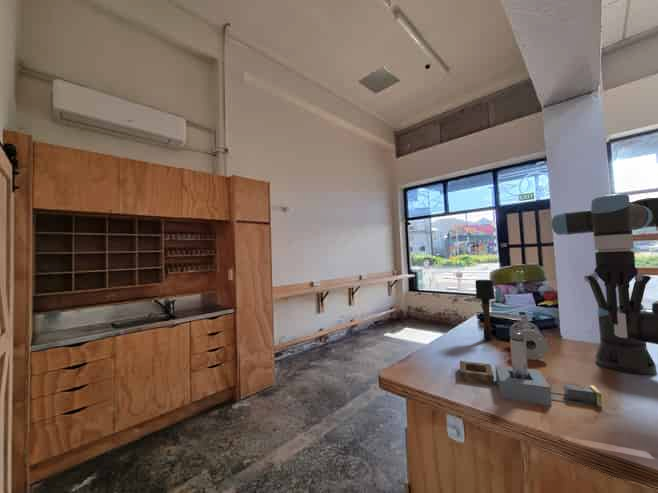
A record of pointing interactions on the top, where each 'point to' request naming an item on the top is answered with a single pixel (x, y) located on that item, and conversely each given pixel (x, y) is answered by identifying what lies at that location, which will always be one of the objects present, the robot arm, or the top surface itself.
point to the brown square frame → (476, 372)
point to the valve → (531, 338)
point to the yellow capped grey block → (583, 394)
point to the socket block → (526, 387)
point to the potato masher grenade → (485, 303)
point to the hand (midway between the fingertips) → (620, 336)
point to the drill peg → (519, 356)
